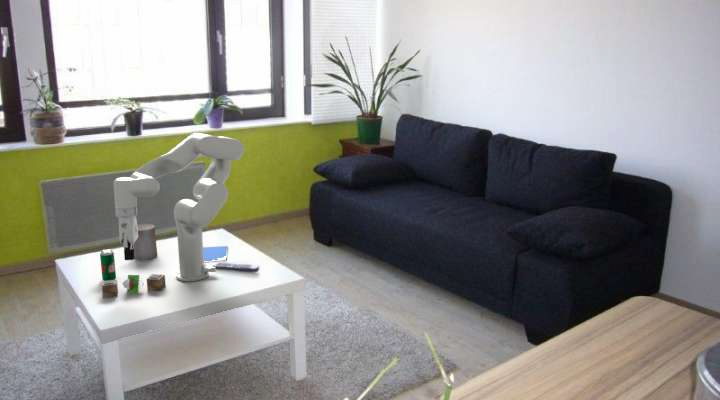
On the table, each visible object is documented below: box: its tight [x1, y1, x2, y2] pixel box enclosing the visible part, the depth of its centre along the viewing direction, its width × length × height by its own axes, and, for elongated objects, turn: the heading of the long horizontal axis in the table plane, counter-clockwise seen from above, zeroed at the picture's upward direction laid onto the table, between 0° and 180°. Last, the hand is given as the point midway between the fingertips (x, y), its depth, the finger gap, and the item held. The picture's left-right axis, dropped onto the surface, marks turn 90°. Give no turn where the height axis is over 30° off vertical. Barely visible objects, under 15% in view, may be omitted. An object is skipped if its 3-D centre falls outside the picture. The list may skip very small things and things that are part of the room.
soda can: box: [99, 248, 117, 281], centre depth 252 cm, size 5×5×12 cm
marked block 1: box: [101, 279, 119, 299], centre depth 238 cm, size 5×5×5 cm
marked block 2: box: [146, 273, 167, 293], centre depth 244 cm, size 5×5×5 cm
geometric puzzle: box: [121, 274, 145, 294], centre depth 241 cm, size 7×7×8 cm
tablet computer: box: [203, 245, 228, 261], centre depth 283 cm, size 19×13×1 cm, turn 10°
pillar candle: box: [134, 223, 158, 261], centre depth 278 cm, size 10×10×15 cm
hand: (129, 259), depth 238 cm, fingers closed
